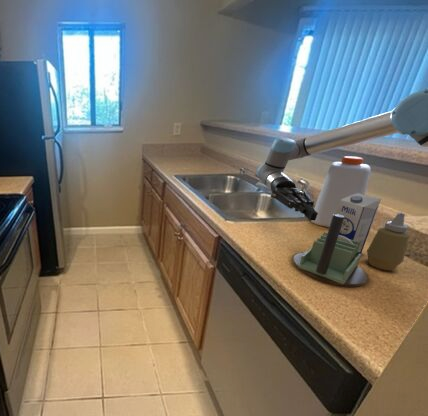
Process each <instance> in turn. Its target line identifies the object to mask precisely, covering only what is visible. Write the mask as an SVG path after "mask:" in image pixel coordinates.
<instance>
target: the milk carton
mask: <svg viewBox="0 0 428 416" xmlns="http://www.w3.org/2000/svg"><path fill="white" fill-rule="evenodd" d="M381 201H382V199H381V198H378V197H375V196H370V195H367V194H365V195H363V194H360V193H356V194H352V195H350V196H348V197H346V198H343V199H341V201H340V204H339V207H338V210H337V214H340V215H343V216H345V217H344V220H343V224H342V227H341V230H340V233H339V235H341V236H344V237H346V238H348V239H350V240H354V241H358V242H361V243H360V246H359V249H358V252H357V254H356V256H358V254H359V253H360V254H362V253H363V250H364V247H365V244H366V242H367V239H368V236H369V234H370V231H371V228H372V225H373V223H374V220H375V217H376V214H377V212H378V209H379V206H380V203H381Z"/></svg>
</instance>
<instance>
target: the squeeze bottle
mask: <svg viewBox="0 0 428 416" xmlns="http://www.w3.org/2000/svg"><path fill="white" fill-rule="evenodd" d="M405 214H406V213H405V212H402V211H399V212H398V213H397V214H396V215H395V217H394V218H393V219H392V220H390V221H386V222H385V224H384V227H383V226H382V227H380V228H378V230H377V232H376V234H375V236H374V237H373V239H372V241H371V243H370V244H369V246H368V248H367V250H366V254H367V263H368V265H370V266H372V267H374V268H376V269H379V270H383V271H394V270H395V269H396V268H397V267H399V265H401V263H403V262H404V258H405V255H406V251H407V248H408V244H409V239H410V234H409V233H408V229H409V225H407V224H405Z"/></svg>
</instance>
